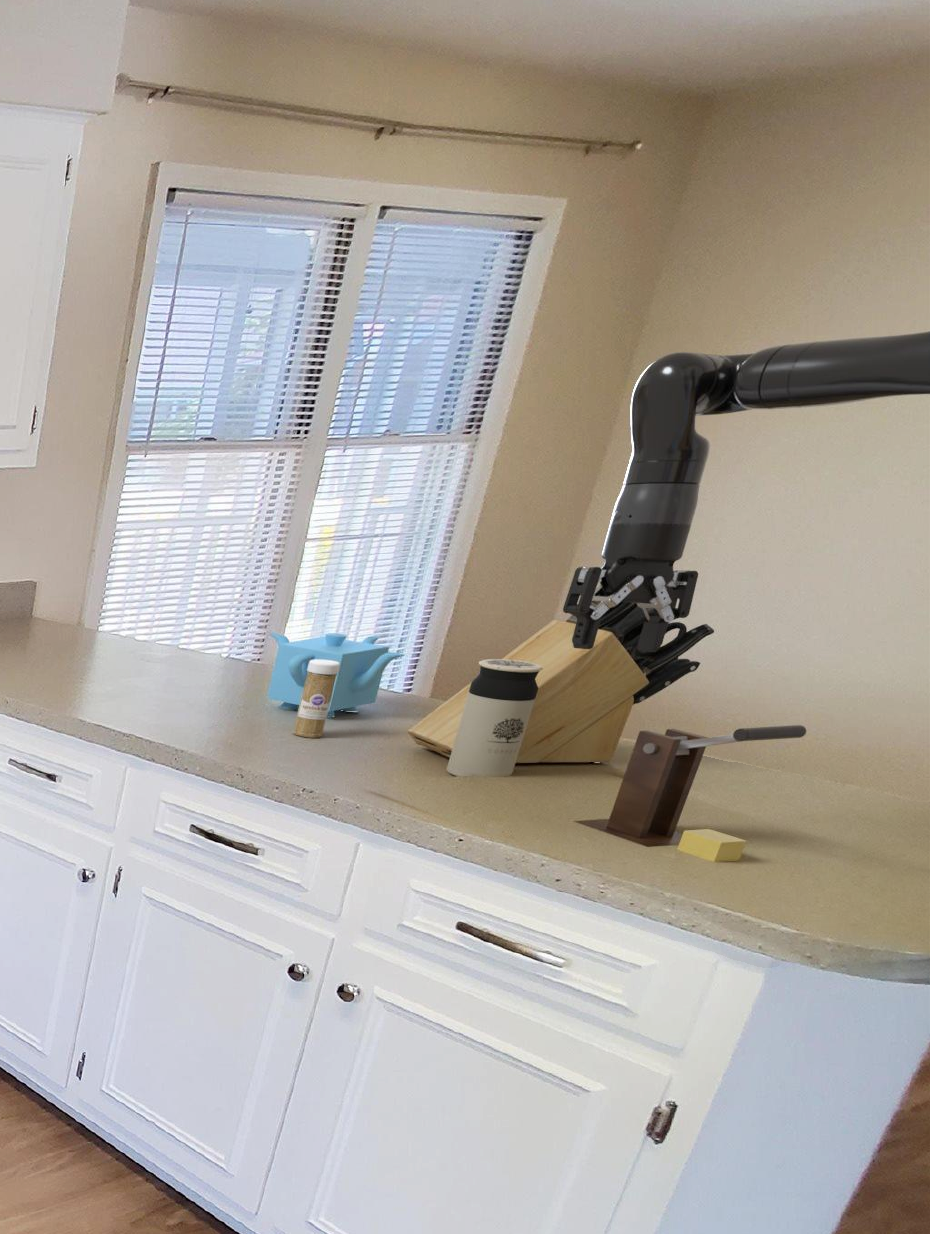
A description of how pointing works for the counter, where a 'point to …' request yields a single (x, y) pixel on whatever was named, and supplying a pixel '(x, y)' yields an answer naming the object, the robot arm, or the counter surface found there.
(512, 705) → the travel mug
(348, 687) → the teakettle
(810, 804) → the counter surface
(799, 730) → the lever
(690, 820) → the counter surface
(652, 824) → the stand
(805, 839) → the counter surface
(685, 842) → the butter
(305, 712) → the sprinkles bottle
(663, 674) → the knife block
